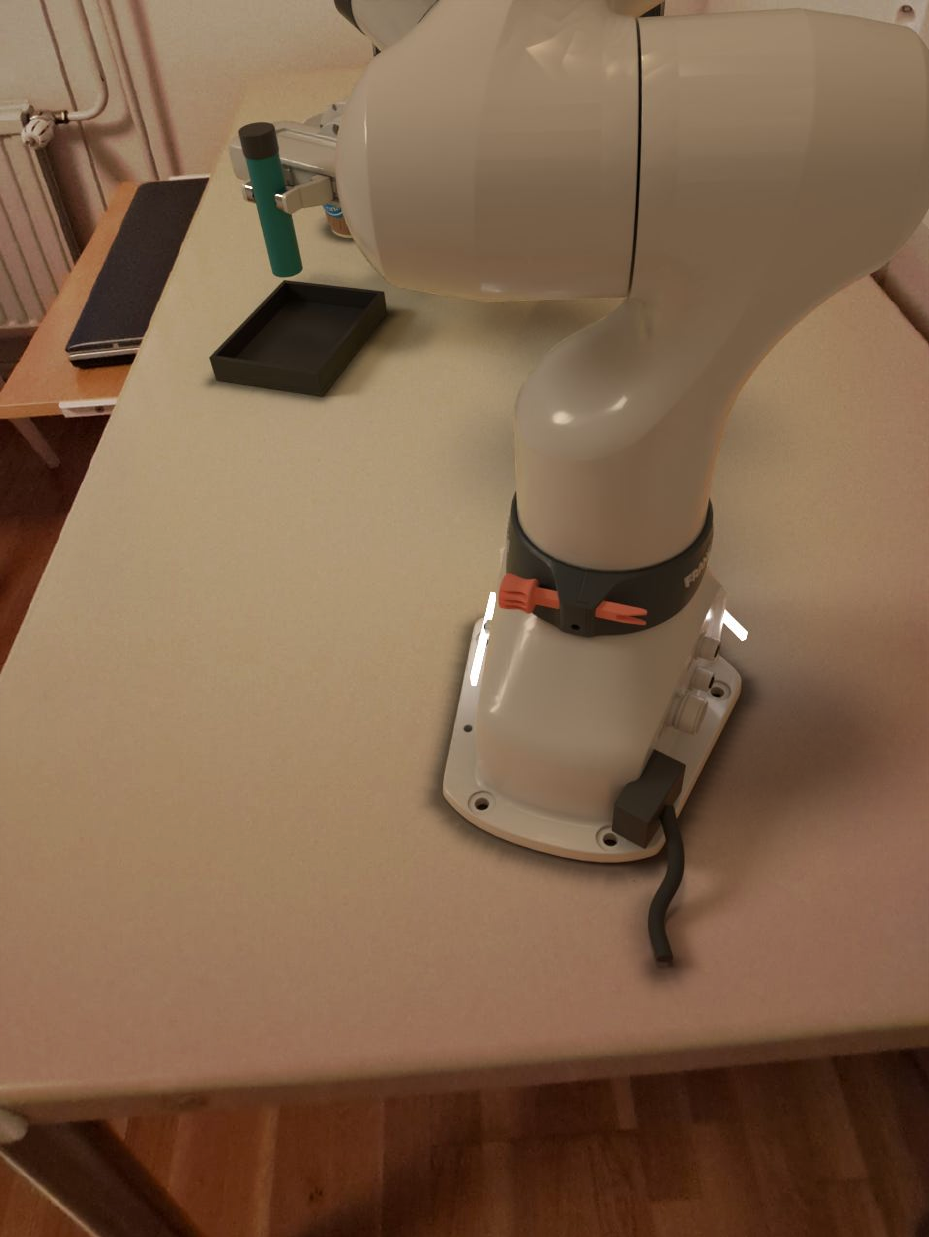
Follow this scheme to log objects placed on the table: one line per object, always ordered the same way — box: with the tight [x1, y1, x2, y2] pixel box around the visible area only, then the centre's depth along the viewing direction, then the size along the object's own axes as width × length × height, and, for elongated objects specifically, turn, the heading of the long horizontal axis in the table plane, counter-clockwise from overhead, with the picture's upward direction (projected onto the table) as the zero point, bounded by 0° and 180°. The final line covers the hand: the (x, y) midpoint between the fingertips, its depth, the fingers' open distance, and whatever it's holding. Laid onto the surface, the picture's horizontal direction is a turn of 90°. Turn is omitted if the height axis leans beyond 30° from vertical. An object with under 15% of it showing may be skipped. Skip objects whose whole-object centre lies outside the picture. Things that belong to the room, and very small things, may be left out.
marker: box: [237, 121, 304, 279], centre depth 86 cm, size 3×3×13 cm
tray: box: [208, 279, 388, 397], centre depth 96 cm, size 16×12×3 cm
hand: (264, 199), depth 85 cm, fingers closed on marker, 3 cm apart
